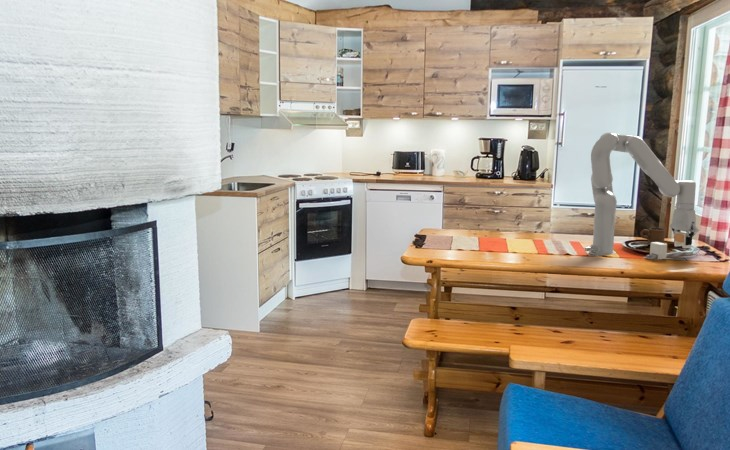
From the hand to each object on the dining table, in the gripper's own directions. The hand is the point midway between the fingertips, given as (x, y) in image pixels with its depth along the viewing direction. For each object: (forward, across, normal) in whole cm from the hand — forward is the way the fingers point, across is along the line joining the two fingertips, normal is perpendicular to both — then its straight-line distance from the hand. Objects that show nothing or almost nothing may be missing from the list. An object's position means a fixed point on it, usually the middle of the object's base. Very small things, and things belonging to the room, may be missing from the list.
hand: (682, 243), depth 275 cm
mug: (+7, -26, +7) cm, 28 cm away
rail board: (+7, 0, -7) cm, 10 cm away
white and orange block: (+2, 0, 0) cm, 2 cm away
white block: (+6, 0, -14) cm, 15 cm away
